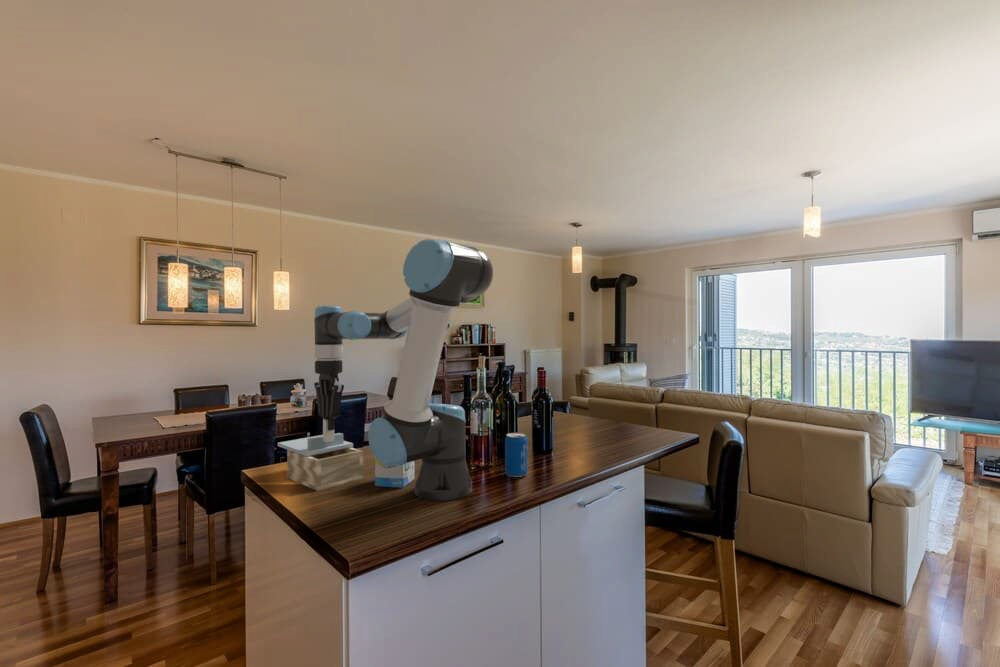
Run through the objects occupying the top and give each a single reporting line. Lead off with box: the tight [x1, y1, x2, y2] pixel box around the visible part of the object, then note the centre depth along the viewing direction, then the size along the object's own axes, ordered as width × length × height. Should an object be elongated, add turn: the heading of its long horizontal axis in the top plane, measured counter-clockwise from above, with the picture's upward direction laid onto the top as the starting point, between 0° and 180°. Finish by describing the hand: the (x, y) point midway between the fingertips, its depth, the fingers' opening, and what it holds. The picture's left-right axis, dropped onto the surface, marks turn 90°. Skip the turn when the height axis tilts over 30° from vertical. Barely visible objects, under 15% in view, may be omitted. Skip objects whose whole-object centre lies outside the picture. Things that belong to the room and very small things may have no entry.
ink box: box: [374, 457, 415, 489], centre depth 129 cm, size 8×8×12 cm
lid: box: [277, 432, 354, 456], centre depth 137 cm, size 18×14×4 cm
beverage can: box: [504, 432, 528, 477], centre depth 134 cm, size 6×6×12 cm
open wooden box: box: [286, 447, 364, 492], centre depth 133 cm, size 18×14×8 cm
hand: (328, 441), depth 132 cm, fingers closed
